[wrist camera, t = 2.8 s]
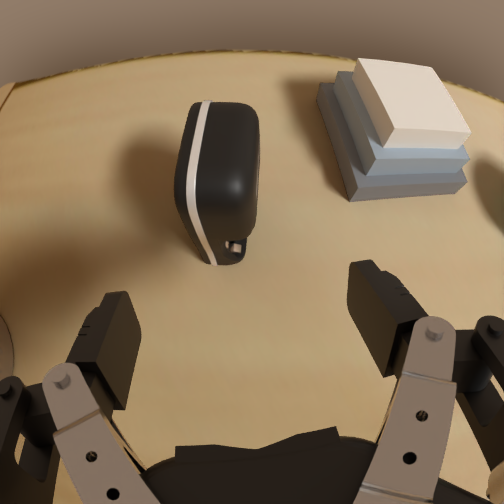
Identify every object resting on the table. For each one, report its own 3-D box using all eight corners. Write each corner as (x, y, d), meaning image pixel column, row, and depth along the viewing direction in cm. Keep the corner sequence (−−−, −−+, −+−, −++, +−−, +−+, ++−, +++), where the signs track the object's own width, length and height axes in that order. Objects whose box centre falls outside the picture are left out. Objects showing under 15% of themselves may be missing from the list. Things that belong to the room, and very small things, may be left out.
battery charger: (253, 271, 24) (256, 203, 13) (203, 268, 24) (166, 199, 13) (258, 189, 26) (263, 88, 15) (213, 187, 26) (192, 87, 15)
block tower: (349, 201, 26) (379, 151, 19) (316, 99, 29) (329, 44, 22) (454, 193, 26) (496, 154, 19) (412, 103, 30) (437, 57, 23)
